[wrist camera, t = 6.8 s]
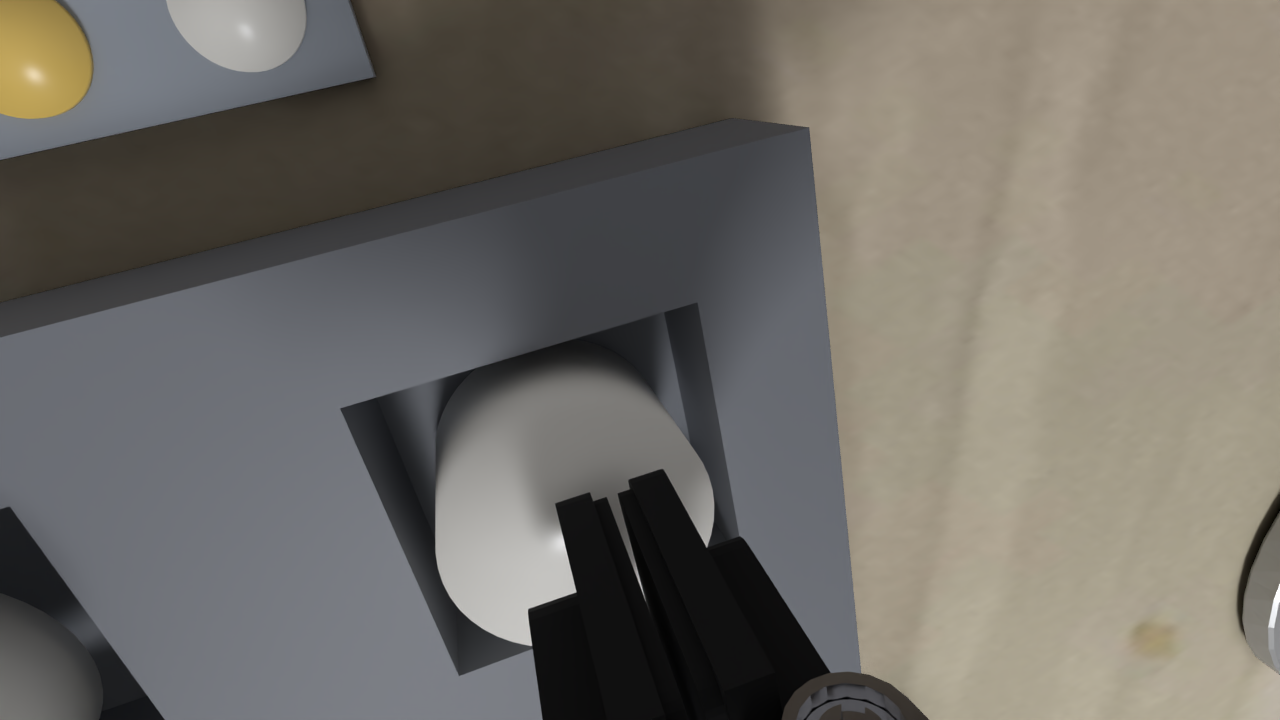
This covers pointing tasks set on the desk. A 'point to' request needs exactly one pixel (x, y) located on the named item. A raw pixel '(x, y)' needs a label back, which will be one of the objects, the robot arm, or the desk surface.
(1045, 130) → the desk surface
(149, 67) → the pattern card
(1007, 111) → the desk surface
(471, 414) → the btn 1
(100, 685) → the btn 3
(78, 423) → the board
